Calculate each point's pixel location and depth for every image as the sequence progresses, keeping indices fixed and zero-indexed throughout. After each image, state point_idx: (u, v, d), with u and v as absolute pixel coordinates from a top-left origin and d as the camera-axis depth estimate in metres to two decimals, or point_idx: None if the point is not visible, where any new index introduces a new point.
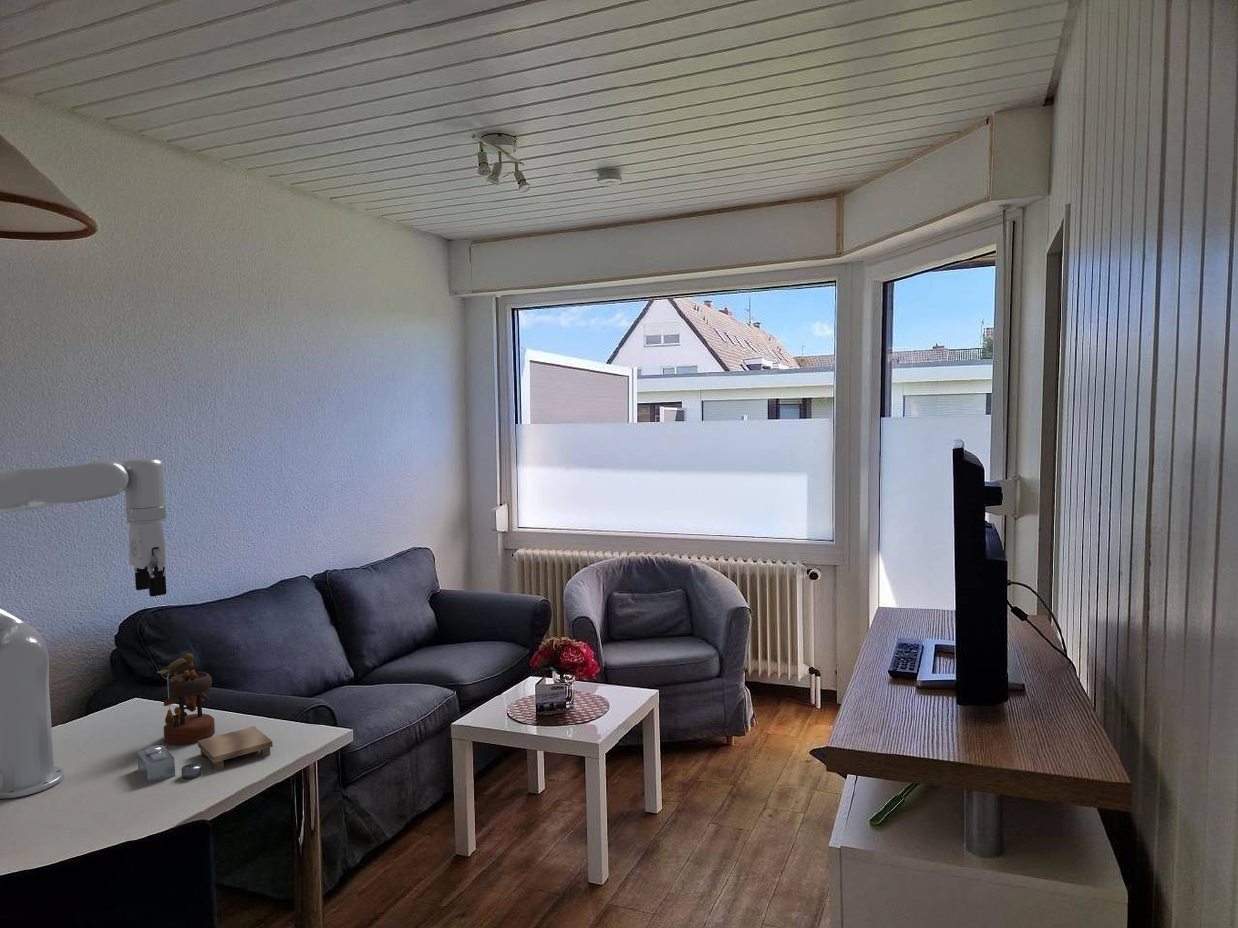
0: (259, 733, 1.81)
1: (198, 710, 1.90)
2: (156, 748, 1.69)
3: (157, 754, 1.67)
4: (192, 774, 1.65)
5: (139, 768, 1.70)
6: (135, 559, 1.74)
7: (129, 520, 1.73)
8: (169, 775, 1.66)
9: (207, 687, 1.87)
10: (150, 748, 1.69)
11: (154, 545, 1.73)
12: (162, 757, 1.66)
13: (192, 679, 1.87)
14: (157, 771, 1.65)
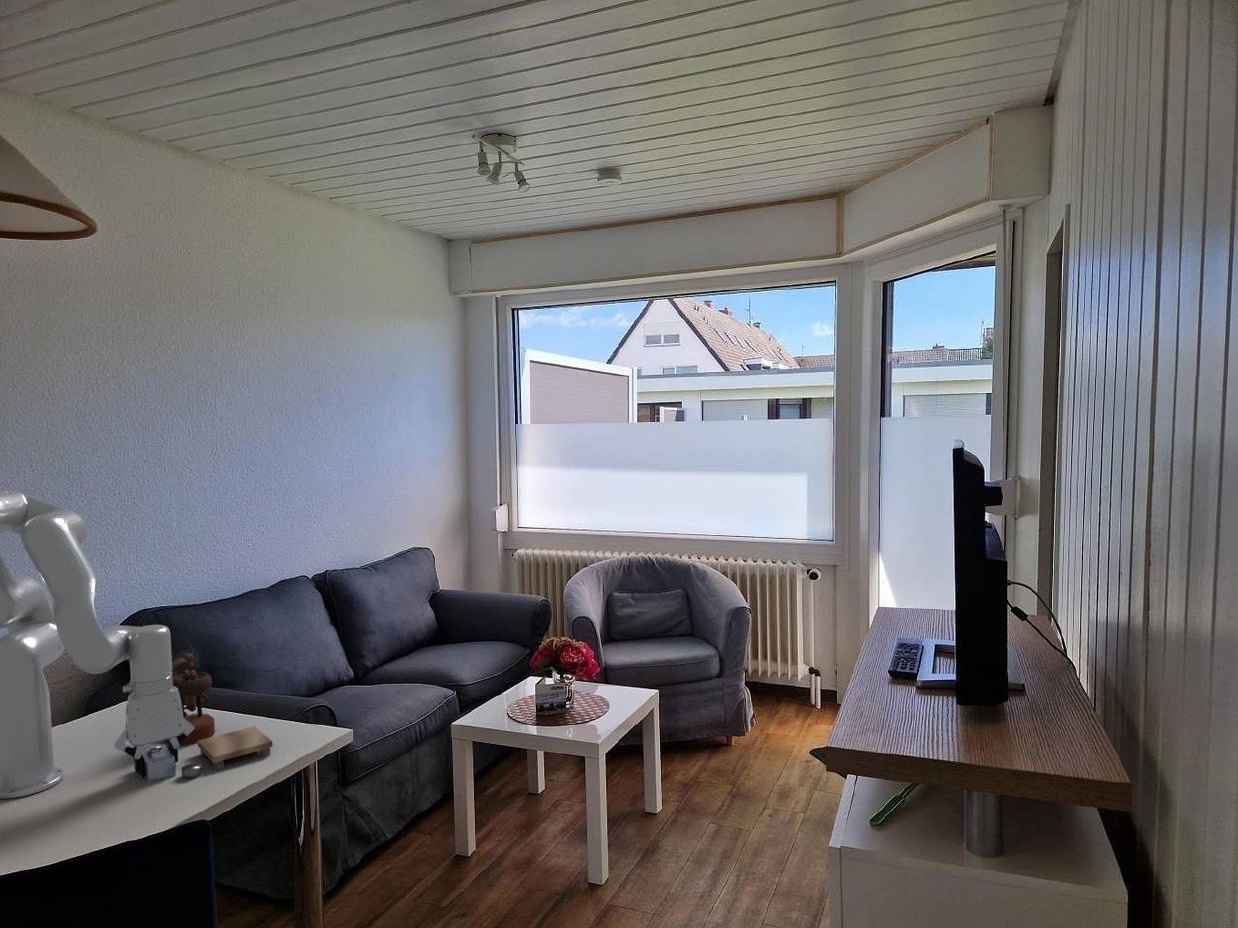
0: (259, 733, 1.81)
1: (198, 710, 1.90)
2: (156, 747, 1.70)
3: (157, 753, 1.67)
4: (192, 774, 1.65)
5: None
6: (162, 732, 1.67)
7: (162, 691, 1.66)
8: (169, 774, 1.66)
9: (207, 687, 1.87)
10: (151, 747, 1.69)
11: None
12: (162, 756, 1.66)
13: (192, 679, 1.87)
14: (157, 770, 1.65)
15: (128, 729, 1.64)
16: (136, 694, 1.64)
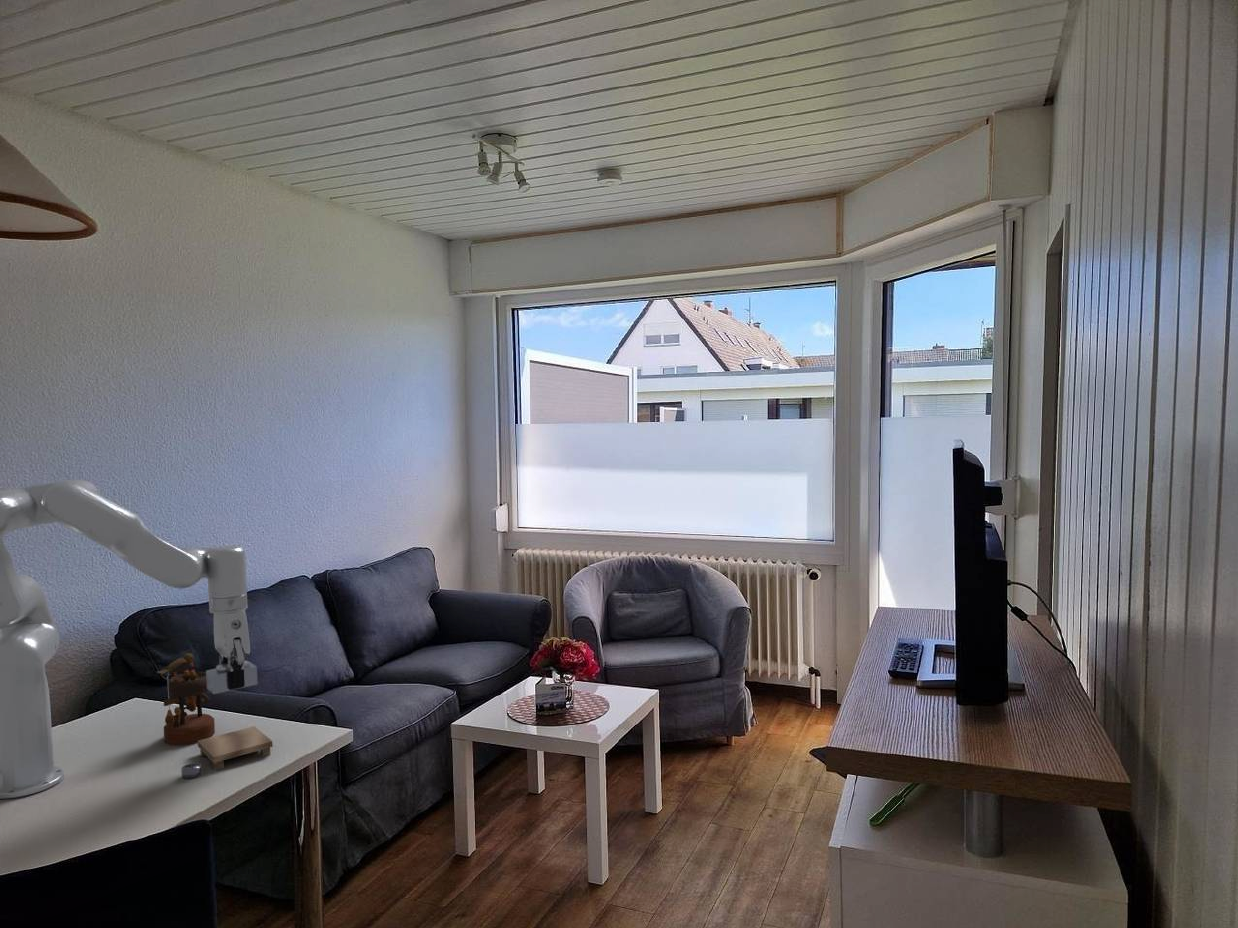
0: (259, 733, 1.81)
1: (198, 710, 1.90)
2: (226, 664, 1.76)
3: None
4: (192, 774, 1.65)
5: (220, 688, 1.72)
6: None
7: None
8: None
9: None
10: (224, 665, 1.75)
11: None
12: None
13: (192, 679, 1.87)
14: None
15: (245, 639, 1.73)
16: (241, 607, 1.74)
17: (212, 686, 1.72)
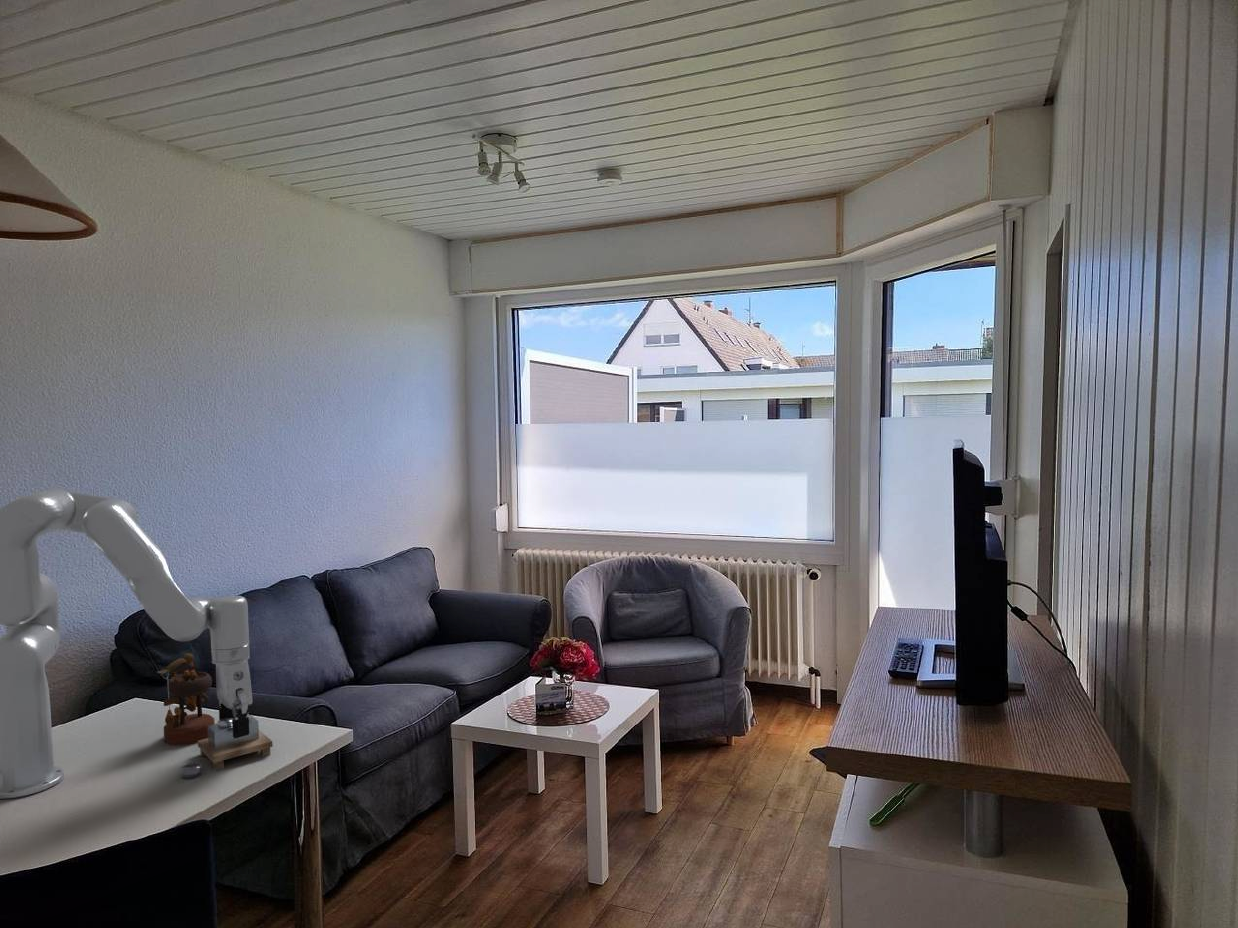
0: (259, 733, 1.81)
1: (198, 710, 1.90)
2: (228, 719, 1.76)
3: None
4: (192, 774, 1.65)
5: (221, 744, 1.73)
6: None
7: None
8: None
9: (207, 687, 1.87)
10: (226, 721, 1.75)
11: None
12: None
13: (192, 679, 1.87)
14: None
15: (247, 690, 1.74)
16: (244, 657, 1.75)
17: (214, 742, 1.73)
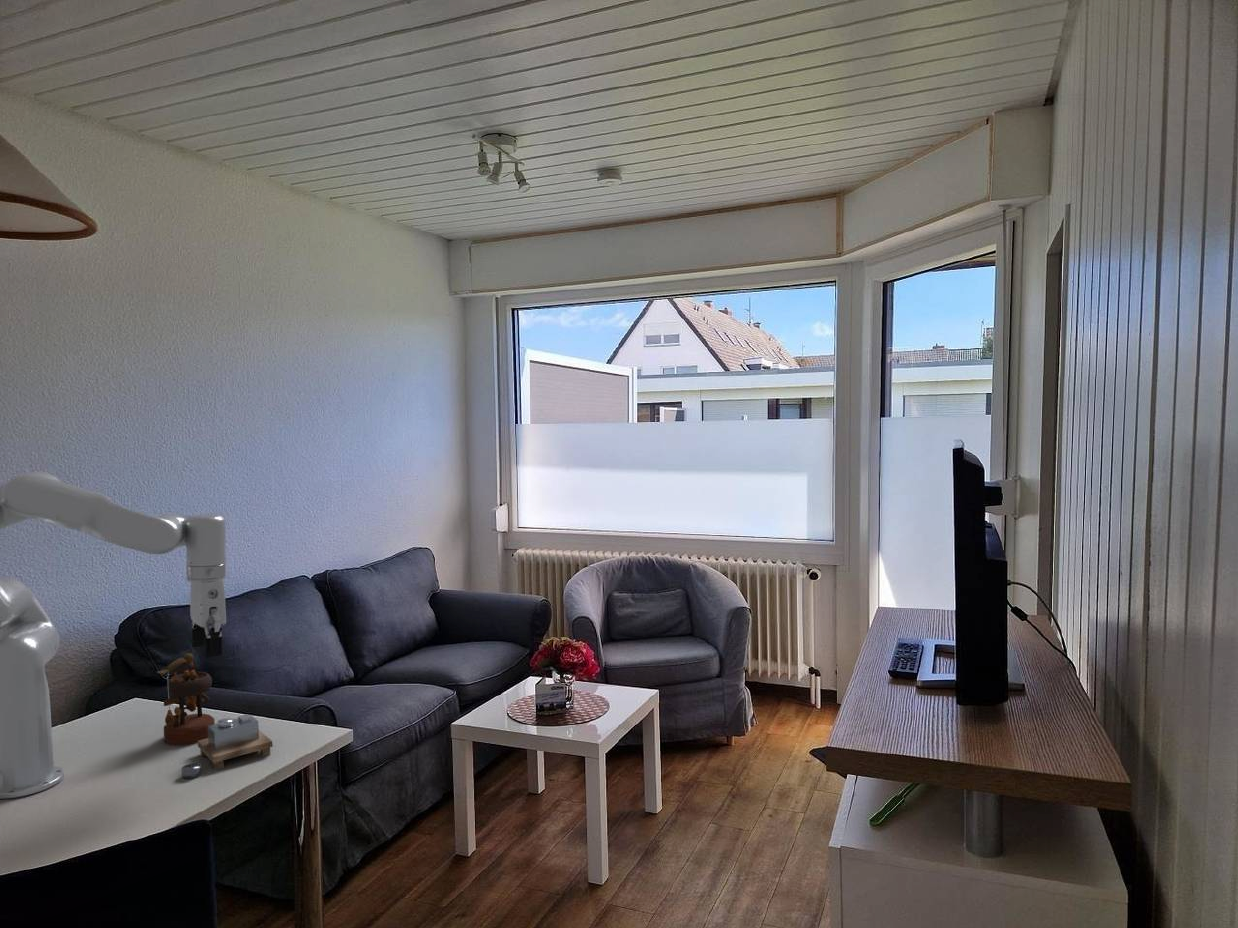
0: (259, 733, 1.81)
1: (198, 710, 1.90)
2: (228, 719, 1.76)
3: (243, 717, 1.78)
4: (192, 774, 1.65)
5: (221, 744, 1.73)
6: None
7: None
8: None
9: (207, 687, 1.87)
10: (226, 721, 1.75)
11: None
12: None
13: (192, 679, 1.87)
14: None
15: (221, 609, 1.71)
16: (219, 576, 1.72)
17: (214, 742, 1.73)
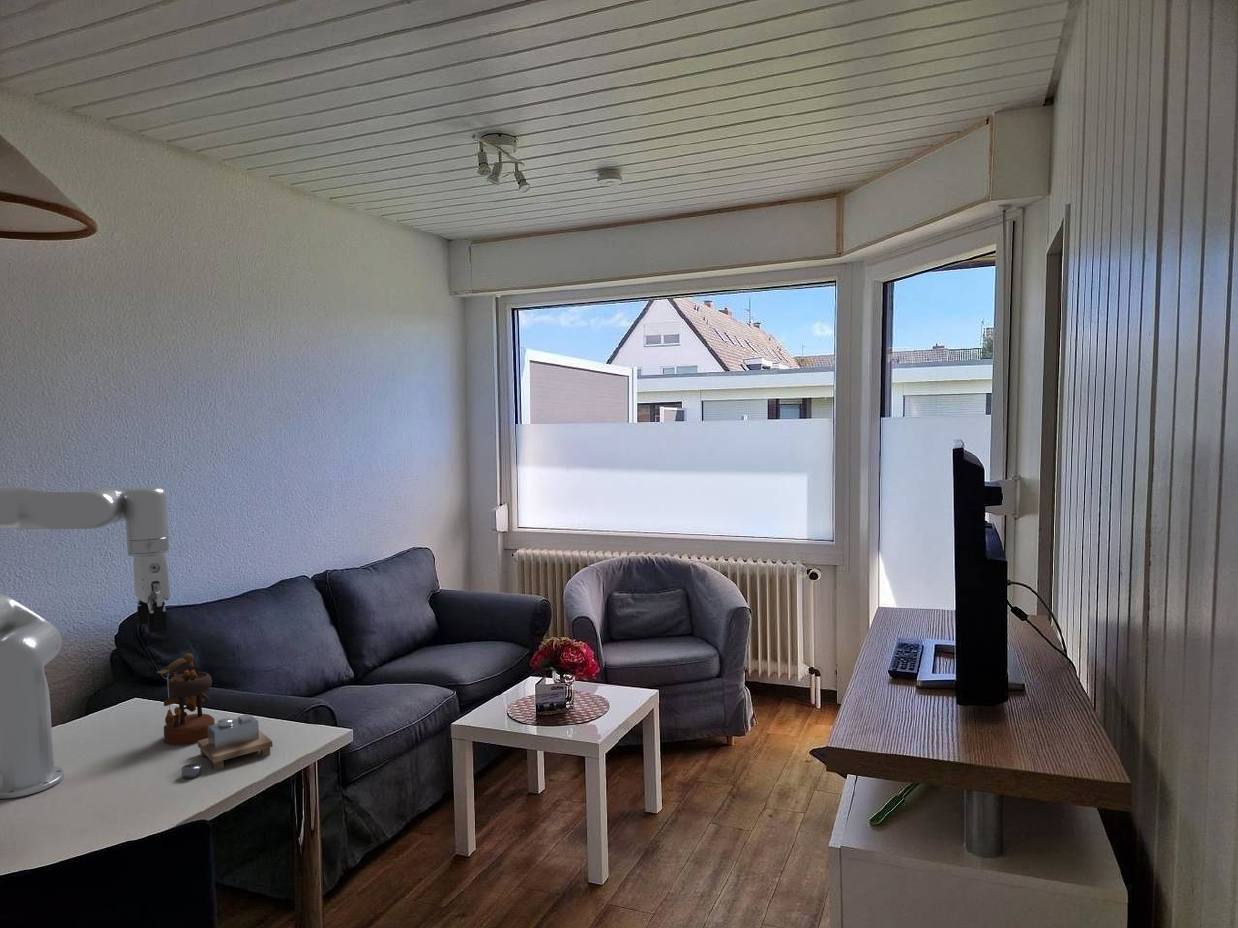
0: (259, 733, 1.81)
1: (198, 710, 1.90)
2: (228, 719, 1.76)
3: (243, 717, 1.78)
4: (192, 774, 1.65)
5: (221, 744, 1.73)
6: None
7: None
8: None
9: (207, 687, 1.87)
10: (226, 721, 1.75)
11: None
12: None
13: (192, 679, 1.87)
14: None
15: (164, 584, 1.66)
16: (161, 550, 1.67)
17: (214, 742, 1.73)
